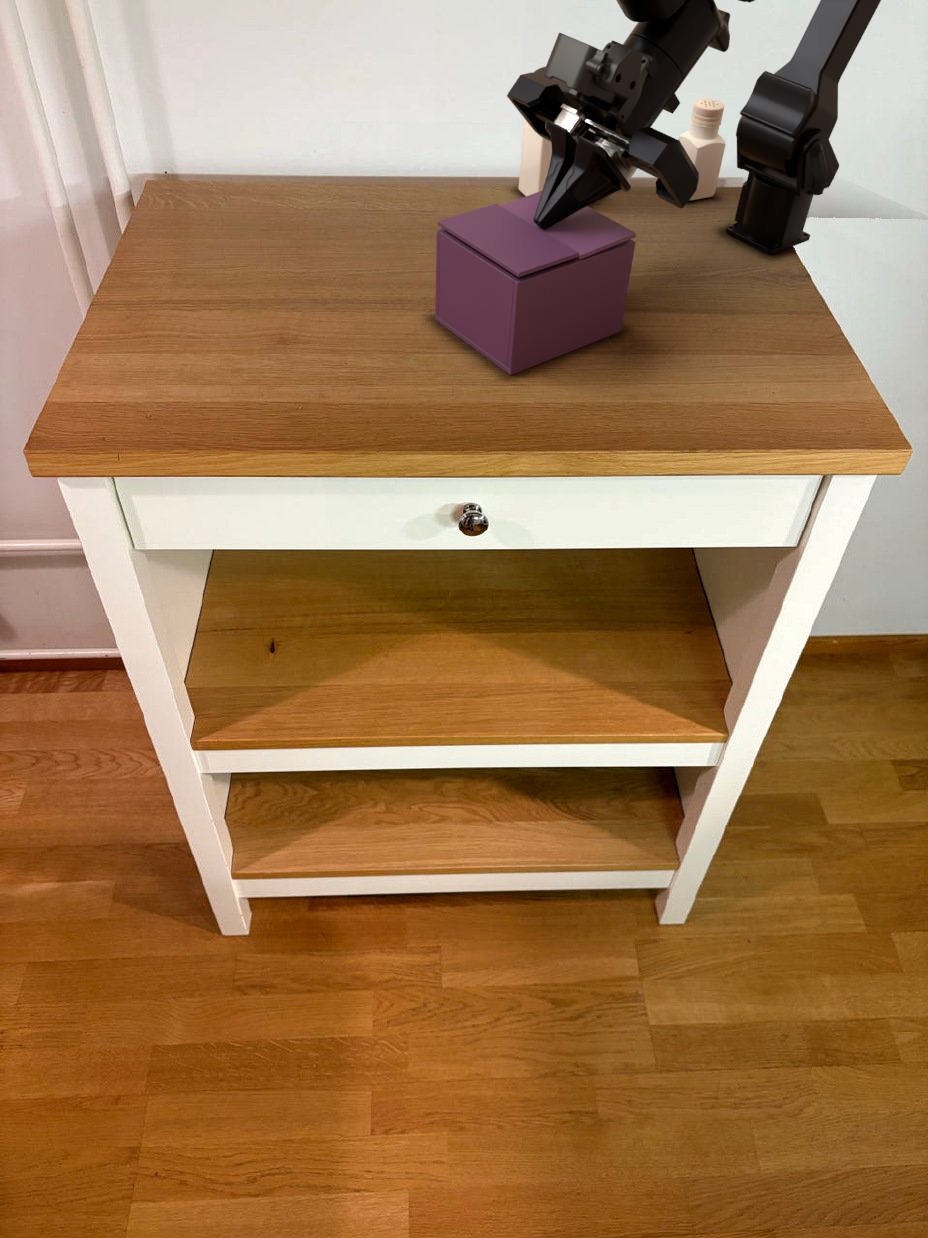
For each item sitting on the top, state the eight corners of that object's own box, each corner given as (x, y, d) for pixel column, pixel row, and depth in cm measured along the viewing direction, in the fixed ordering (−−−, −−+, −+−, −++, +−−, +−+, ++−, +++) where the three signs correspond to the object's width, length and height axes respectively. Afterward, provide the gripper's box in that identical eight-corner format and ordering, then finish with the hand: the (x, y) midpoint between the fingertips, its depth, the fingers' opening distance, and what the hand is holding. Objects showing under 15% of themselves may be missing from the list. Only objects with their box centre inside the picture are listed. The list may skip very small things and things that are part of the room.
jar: (568, 218, 106) (582, 98, 97) (505, 196, 109) (513, 78, 100) (610, 191, 111) (626, 75, 102) (549, 171, 114) (560, 57, 105)
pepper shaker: (666, 188, 112) (683, 99, 105) (695, 183, 113) (714, 95, 106) (686, 203, 109) (704, 112, 103) (716, 198, 111) (736, 107, 104)
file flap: (552, 190, 89) (552, 186, 89) (635, 237, 83) (636, 232, 83) (497, 210, 87) (497, 206, 86) (579, 259, 81) (579, 255, 81)
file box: (543, 282, 96) (552, 186, 89) (620, 331, 90) (637, 232, 83) (435, 320, 90) (436, 220, 83) (510, 375, 84) (518, 273, 78)
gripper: (534, -40, 79) (420, 132, 82) (705, 23, 69) (568, 216, 72) (593, 53, 88) (489, 204, 91) (752, 120, 78) (629, 288, 81)
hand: (538, 225), depth 83 cm, fingers closed, pressing on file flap
